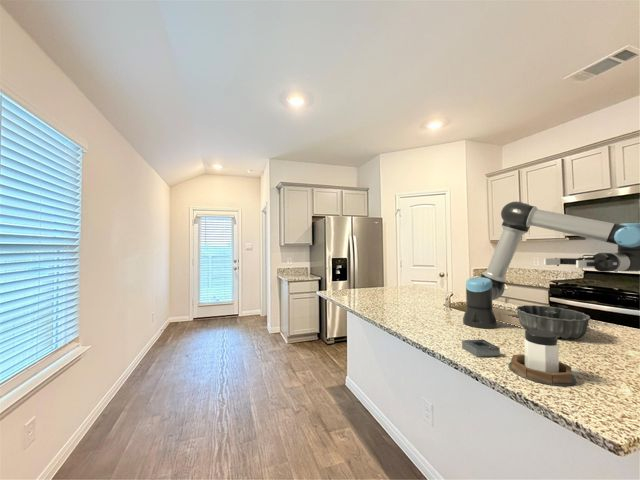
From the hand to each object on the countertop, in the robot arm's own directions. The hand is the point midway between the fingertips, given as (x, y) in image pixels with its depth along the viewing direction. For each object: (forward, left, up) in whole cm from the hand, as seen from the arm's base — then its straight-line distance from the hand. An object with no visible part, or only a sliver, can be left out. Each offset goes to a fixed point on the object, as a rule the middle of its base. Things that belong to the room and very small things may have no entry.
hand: (559, 262), depth 109 cm
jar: (+17, -25, -34) cm, 45 cm away
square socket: (0, -34, -34) cm, 48 cm away
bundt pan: (-18, +13, -34) cm, 41 cm away
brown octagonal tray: (+18, -26, -34) cm, 46 cm away
